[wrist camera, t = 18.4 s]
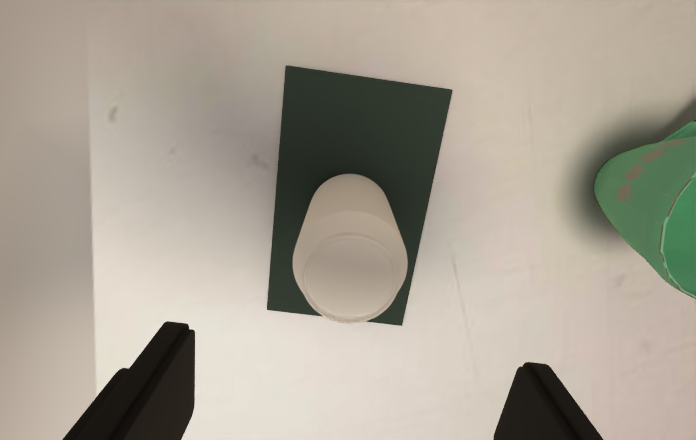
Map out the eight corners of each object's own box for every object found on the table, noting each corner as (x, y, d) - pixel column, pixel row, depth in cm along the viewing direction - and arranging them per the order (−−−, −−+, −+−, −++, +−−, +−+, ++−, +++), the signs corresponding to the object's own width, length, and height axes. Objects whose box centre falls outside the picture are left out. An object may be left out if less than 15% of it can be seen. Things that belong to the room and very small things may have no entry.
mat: (286, 65, 27) (285, 65, 27) (451, 89, 27) (452, 89, 27) (267, 308, 33) (266, 309, 33) (401, 324, 34) (402, 325, 34)
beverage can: (401, 224, 30) (433, 304, 19) (333, 257, 31) (325, 352, 20) (366, 156, 29) (378, 199, 17) (295, 193, 30) (263, 257, 18)
